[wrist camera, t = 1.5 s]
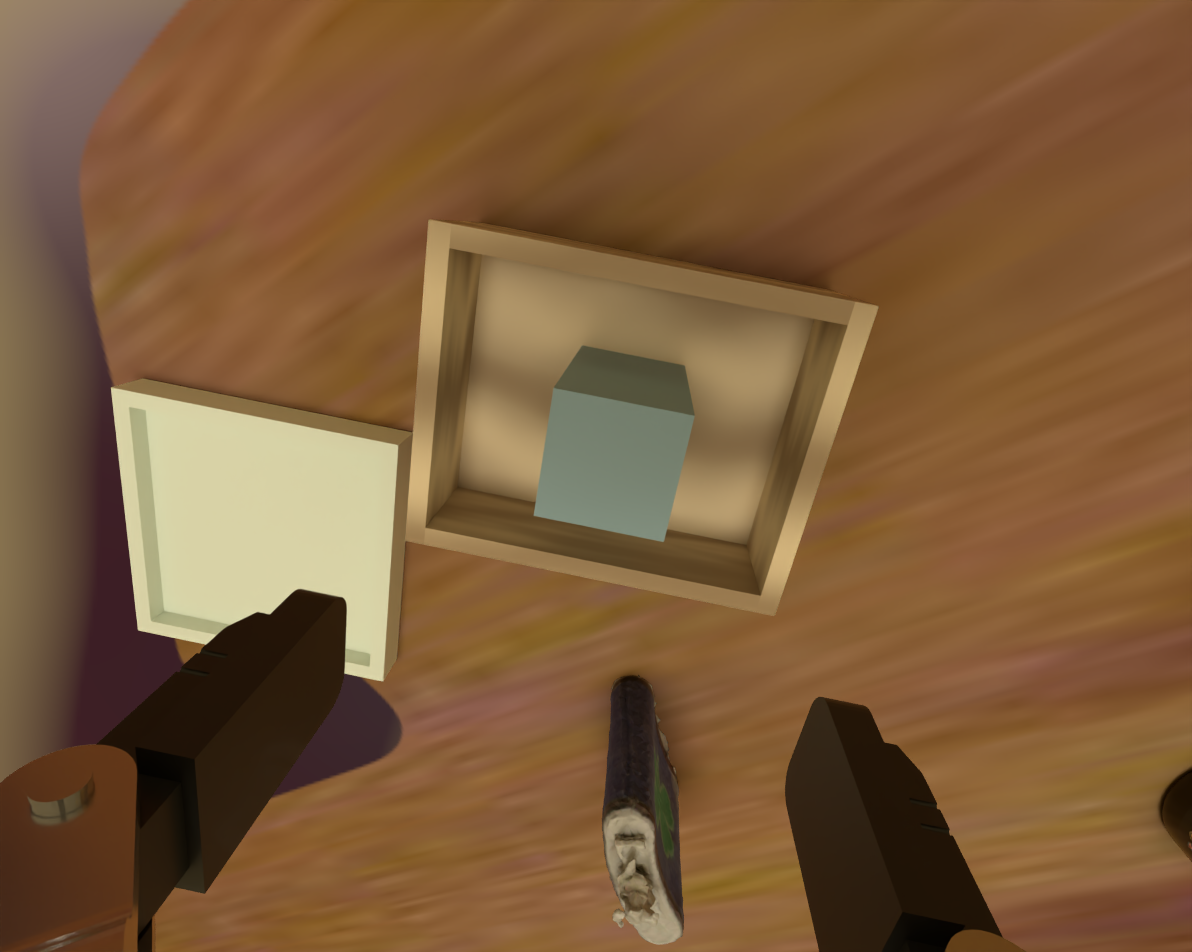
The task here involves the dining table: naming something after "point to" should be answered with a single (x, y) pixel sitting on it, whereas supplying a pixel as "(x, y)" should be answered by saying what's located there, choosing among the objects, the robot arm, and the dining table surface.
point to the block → (615, 443)
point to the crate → (641, 328)
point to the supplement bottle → (1180, 813)
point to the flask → (642, 816)
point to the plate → (261, 514)
